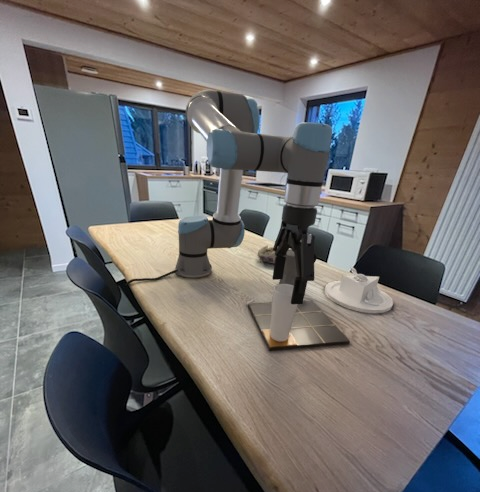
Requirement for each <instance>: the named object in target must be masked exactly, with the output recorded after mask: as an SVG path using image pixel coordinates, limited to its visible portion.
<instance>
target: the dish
mask: <svg viewBox="0 0 480 492" xmlns="http://www.w3.org/2000/svg"><path fill="white" fill-rule="evenodd" d="M350 270H351V273H352V275H351V274H343V275H342V277H341V280H335V281H329V282H328V283H327V284H326V285H325V287H324V294H325V296H326V297H327V298H328V299H329V300H331V301H332V302H333V303H335V304H336V305H339V306H341V307H343V308H346V309H349V310H351V311H356V312H359V313H365V314H384V313H387V312H388V311H391V309H392V307H393V306H394V305H393V304H394V300H393V298H392V297H391V296H390V295H389V294H388V293H387V292H385V291H384V290H382V289H380V288H379V287H378V286H377V285H378V283H379V279H380V276H372V275H371V276H370V275H365V274H363V273H358V272H357V269H356V268H355V267H353V266H350Z"/></svg>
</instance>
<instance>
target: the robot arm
mask: <svg viewBox="0 0 480 492" xmlns="http://www.w3.org/2000/svg"><path fill="white" fill-rule="evenodd" d="M186 103H187V104H186V105H185V118H186V121H187V123H188V125H189V126H190V127H191V129H192V130H193V131H194V132H196V133H198V134H200V136H202V138H203V139H204V141H205V142H206V158H207V162H208V165H209V166H210V167H212V168H215V169H219V177H218V191H217V205H216V211H215V212H214V213H213V214H212V219H208V217H207V216H205V215H190V216H186V217H183V218H181V219H180V220H179V222H178V224H177V225H178V226H177V228H178V229H177V234H178V254H179V255H178V258H177V261H176V263H175V268H174V270H172V271H169V272H167V273H164V274H163V275H160V276H158V277H152V278H151V277H144V278H132V279H130V280H128V281H127V282H126V283H125V285H124V286H126V287H127V286H129V285H130V284H131V283H133V282H144V281H145V282H149V281H150V282H153V281H158V280H161V279H163V278H166V277H169V276H170V275H173V274H176V275H177V276H178V277H180V278H183V279H190V280H197V279H203V278H206V277H209V276H210V275H211V274H212V265H211V263H210V259H209V257H208V250H209V249H231V248H237V247H239V246H241V244H242V243H243V241H244V237H245V231H246V230H245V224H244V221H243V220H242V217H241V216H240V214H239V206H240V199H241V190H242V183H243V182H242V181H243V175H244V174H243V173H244V171H255V172H269V173H282V174H287V178H286V180H287V181H286V183H285V189H284V197H283V202H284V203H285V204H284V205H283V207H282V213H281V221H280V228H279V231H278V234H277V237H276V239H275V241H274V244H273V251H275V256H276V257H275V264H274V263H273V265H274V266H273V270H272V271H273V273H272V280H273V281H274V280H276V281H277V280H279V281H280V279H283V273H284V267H285V260H286V257H283V256H287V253H286V252H287V251H288V250H289V249H292V251H293V252H294V254H295V262H296V269H297V277H296V278H295V282H294V288H293V293H292V298H291V304H303V301H305V300H304V298H305V296H306V295H305V294H306V289H307V286H308V285H307V284H308V282H313V281H315V263H314V253H315V240H316V235H315V234H314V233H309V227H311V226H312V227H313V226H314V225H315V224H316V220H317V215H318V209H317V206H318V205H319V204H320V198H321V195H322V192H323V191H322V188H323V187H322V186H323V183H324V179H325V174H326V169H327V165H328V160H329V155H330V152H331V143H332V137H333V127H332V126H330V124H327V123H323V122H322V123H320V122H299V123H297V124H296V126H295V127H294V129H293V130H294V131H293V133H292V136H282V135H281V136H280V135H275V134H273V135H272V134H265V133H264V134H263V133H258V131H259V129H260V122H261V121H260V109H259V106H258V102H257V101H256V99H255V98H254V97H252V96H250V95H245V94H243V93H241V94H240V93H234V92H227V91H221V90H220V91H219V90H215V89H204V90H200V91H198V92H196V93H194V94H193V95H192V96H191V97H190V98H189V99H188V101H187V102H186ZM277 246H278V247H277Z"/></svg>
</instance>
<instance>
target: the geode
mask: <svg viewBox="0 0 480 492" xmlns="http://www.w3.org/2000/svg"><path fill="white" fill-rule="evenodd" d="M273 247H274V246H273ZM273 247H272V246H270V247H269V245H265V246H263V247H261V248H260V249H258V251H257V254H256V257H258V258H259V260H260V261H261V262H263V263H264V262H266V263H269V264H273V265H274V264H275V257H276V256H275V251H273ZM277 247H278V246H277Z"/></svg>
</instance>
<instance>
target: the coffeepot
mask: <svg viewBox="0 0 480 492" xmlns="http://www.w3.org/2000/svg"><path fill="white" fill-rule="evenodd" d="M286 253H287V256H283V257H286V260H285V267H284V273H283V279H279V281H278V284H289V285H293V286H294V282H295V278H296V277H297V269H296V262H295V254H294V252H293V251H292V248H289V250H288V251H287V252H286ZM317 260H318V256H317V254H316V252H314V264H315V263H316V261H317Z"/></svg>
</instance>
